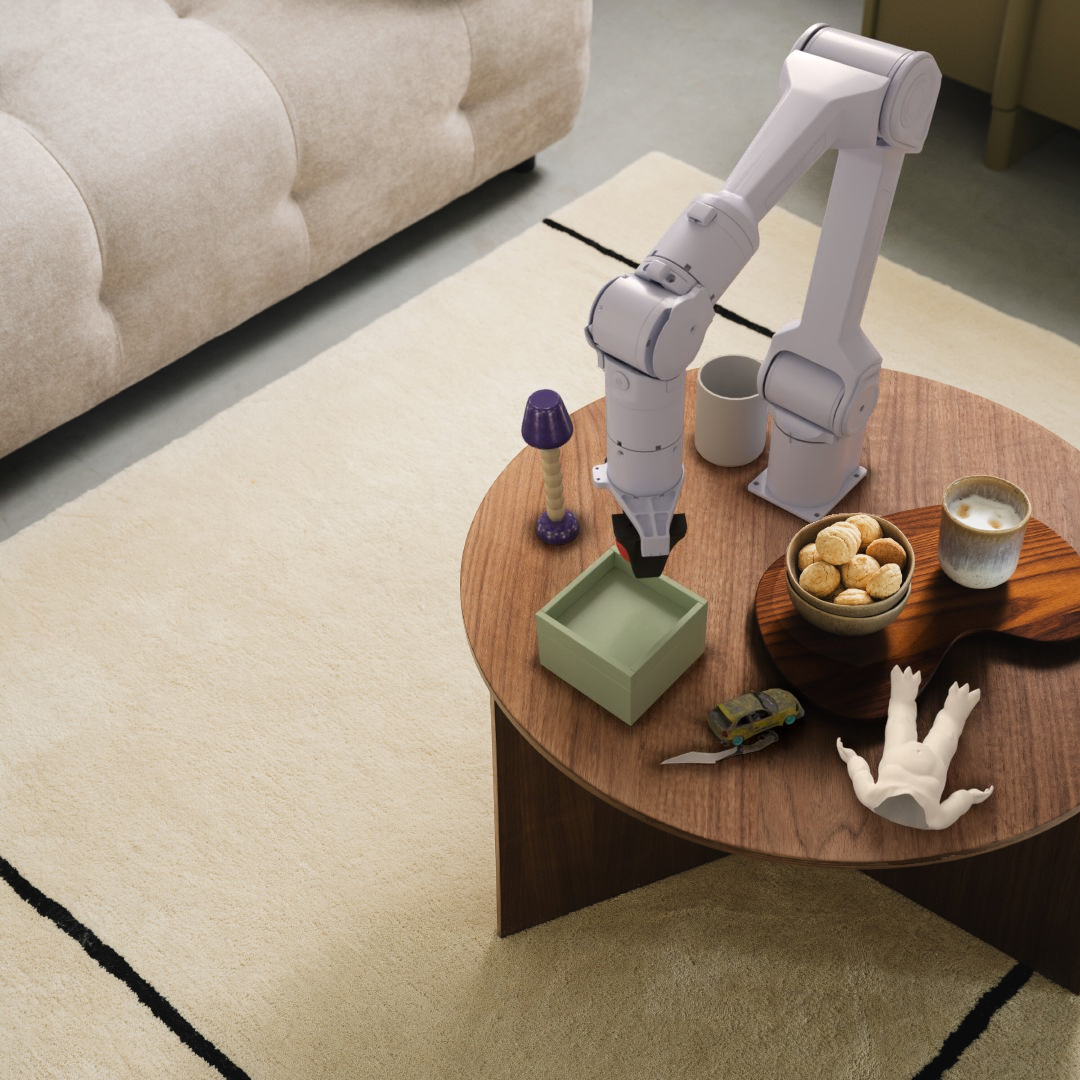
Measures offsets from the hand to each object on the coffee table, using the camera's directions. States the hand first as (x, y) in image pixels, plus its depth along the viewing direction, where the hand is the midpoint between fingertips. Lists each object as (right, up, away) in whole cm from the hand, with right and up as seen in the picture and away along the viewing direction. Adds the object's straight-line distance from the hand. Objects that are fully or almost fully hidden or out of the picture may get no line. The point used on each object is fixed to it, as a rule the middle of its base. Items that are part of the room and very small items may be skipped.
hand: (644, 551), depth 95 cm
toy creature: (+23, -12, -1) cm, 26 cm away
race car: (+9, -14, 0) cm, 17 cm away
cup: (+11, +12, +25) cm, 29 cm away
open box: (-1, -9, +5) cm, 11 cm away
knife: (+7, -14, +1) cm, 16 cm away
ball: (0, +1, -1) cm, 2 cm away
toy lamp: (-7, +2, +17) cm, 18 cm away
